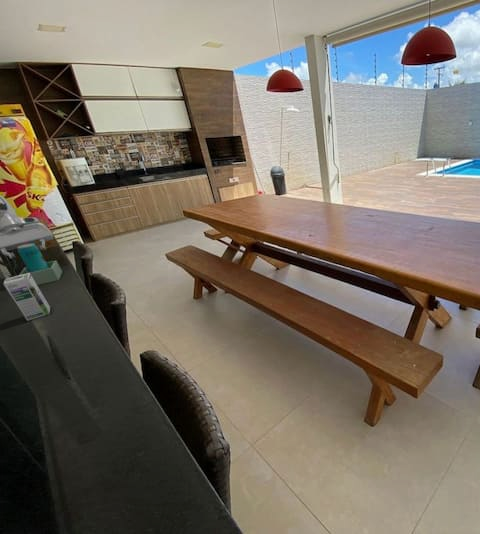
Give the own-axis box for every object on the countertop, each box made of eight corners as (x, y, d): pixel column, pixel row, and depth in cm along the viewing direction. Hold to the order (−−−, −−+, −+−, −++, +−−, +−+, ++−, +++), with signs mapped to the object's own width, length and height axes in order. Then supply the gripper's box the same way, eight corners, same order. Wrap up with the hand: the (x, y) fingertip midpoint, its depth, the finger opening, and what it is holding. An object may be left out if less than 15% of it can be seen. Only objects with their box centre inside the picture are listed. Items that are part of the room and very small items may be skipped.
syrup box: (26, 321, 102) (2, 283, 95) (29, 314, 106) (5, 277, 100) (49, 314, 105) (27, 277, 99) (51, 307, 109) (29, 271, 103)
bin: (26, 288, 125) (18, 275, 122) (31, 279, 133) (24, 267, 130) (58, 280, 130) (52, 268, 127) (62, 272, 138) (56, 260, 135)
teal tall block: (55, 276, 132) (37, 244, 125) (38, 282, 127) (18, 249, 121) (50, 273, 134) (32, 242, 128) (33, 279, 130) (13, 246, 124)
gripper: (-29, 230, 118) (-10, 258, 117) (41, 216, 133) (59, 241, 132) (-25, 239, 122) (-6, 266, 121) (43, 225, 137) (60, 249, 136)
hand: (28, 253), depth 127 cm, fingers open, 8 cm apart
